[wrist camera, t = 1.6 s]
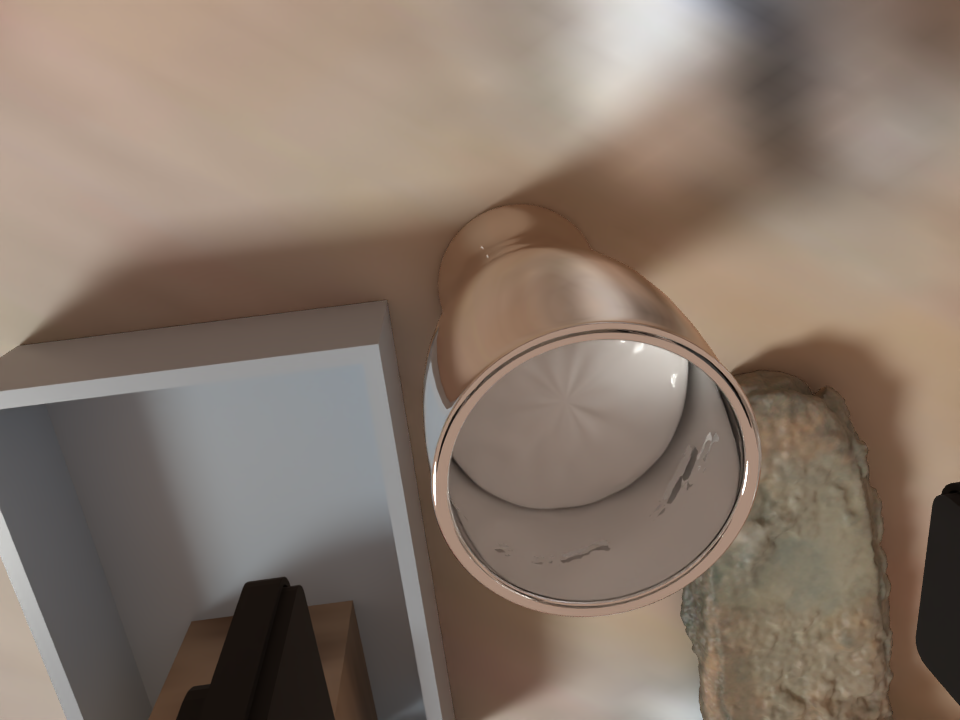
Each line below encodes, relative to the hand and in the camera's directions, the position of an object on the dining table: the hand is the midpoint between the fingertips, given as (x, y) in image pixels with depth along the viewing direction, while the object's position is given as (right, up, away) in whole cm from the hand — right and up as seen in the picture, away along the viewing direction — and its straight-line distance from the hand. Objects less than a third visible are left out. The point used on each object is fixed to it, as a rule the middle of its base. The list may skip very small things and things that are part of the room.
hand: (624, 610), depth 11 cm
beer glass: (-1, +7, +18) cm, 19 cm away
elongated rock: (+13, -12, +26) cm, 32 cm away
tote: (-11, -5, +21) cm, 25 cm away
